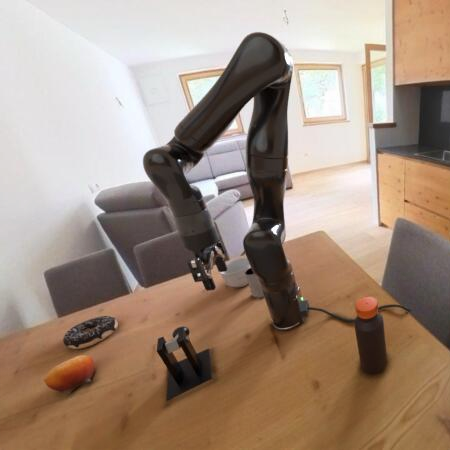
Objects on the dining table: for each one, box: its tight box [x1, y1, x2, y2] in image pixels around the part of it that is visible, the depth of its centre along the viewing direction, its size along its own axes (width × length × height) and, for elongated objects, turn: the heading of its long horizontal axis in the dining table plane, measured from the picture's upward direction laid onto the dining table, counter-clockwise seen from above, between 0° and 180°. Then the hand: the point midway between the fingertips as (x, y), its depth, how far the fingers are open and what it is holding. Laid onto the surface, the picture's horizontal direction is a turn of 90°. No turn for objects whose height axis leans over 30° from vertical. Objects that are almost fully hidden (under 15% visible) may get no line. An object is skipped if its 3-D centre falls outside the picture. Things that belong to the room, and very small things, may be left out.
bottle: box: [353, 296, 388, 376], centre depth 66 cm, size 7×7×20 cm
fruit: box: [43, 354, 95, 394], centre depth 69 cm, size 8×8×8 cm
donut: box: [62, 315, 119, 350], centre depth 83 cm, size 11×12×4 cm
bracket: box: [156, 329, 213, 402], centre depth 68 cm, size 11×9×13 cm
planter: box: [245, 268, 264, 300], centre depth 95 cm, size 4×4×10 cm
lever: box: [165, 325, 191, 353], centre depth 70 cm, size 13×4×4 cm, turn 34°
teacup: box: [219, 254, 251, 288], centre depth 104 cm, size 14×11×8 cm
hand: (217, 279), depth 76 cm, fingers open, 8 cm apart
